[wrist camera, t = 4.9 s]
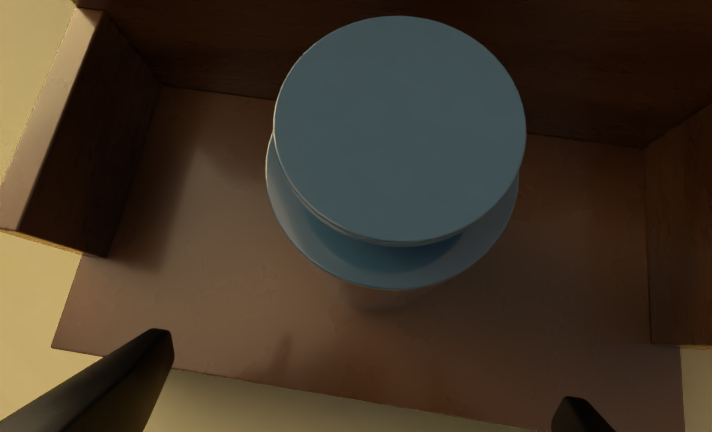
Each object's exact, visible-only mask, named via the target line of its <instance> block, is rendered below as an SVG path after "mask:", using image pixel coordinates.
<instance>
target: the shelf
mask: <svg viewBox="0 0 712 432" xmlns="http://www.w3.org/2000/svg"><path fill="white" fill-rule="evenodd" d="M71 1H72V2H73V3H74V4H75V5H76V7H77V8H75V11H74V13H73V15H72V18H71V20H70V22H69V25H68V27H67V30H66V32H65V34H64V37H63V39H62V41H61V44H60V46H59V49H58V51H57V53H56V56H55V58H54V60H53V63H52V65H51V68H50V70H49V72H48V75H47V77H46V79H45V82H44V84H43V87H42V89H41V91H40V94H39V96H38V98H37V101H36V103H35V106H34V108H33V110H32V113H31V115H30V117H29V120H28V122H27V125H26V127H25V129H24V132H23V134H22V136H21V139H20V141H19V144H18V146H17V148H16V151H15V153H14V156H13V158H12V160H11V163H10V165H9V167H8V170H7V172H6V175H5V177H4V179H3V182H2V184H1V186H0V232H3V233H7V234H10V235H14V236H17V237H21V238H24V239H27V240H31V241H34V242H38V243H41V244H45V245H48V246H52V247H55V248H59V249H62V250H66V251H69V252H73V253H76V254H80V255H82V257H81V260H80V263H79V266H78V269H77V272H76V275H75V278H74V280H73V283H72V286H71V289H70V292H69V295H68V298H67V301H66V304H65V307H64V310H63V312H62V315H61V318H60V321H59V324H58V327H57V330H56V333H55V336H54V339H53V341H52V344H51V348H53V349H59V350H65V351H71V352H77V353H83V354H89V355H95V356H101V357H105V356H106V355H108V354H110V353H111V352H113V351H115V350H116V349H118V348H119V347H121V346H123V345H124V344H126V343H128V342H129V341H131V340H132V339H134V338H136V337H137V336H139V335H140V334H142V333H144V332H145V331H147V330H149V329H151V328H159V329H165V330H169V331H170V333H171V335H172V341H173V347H174V353H175V358H174V363H173V365H172V368H171V369H177V370H183V371H189V372H195V373H201V374H207V375H213V376H219V377H224V378H230V379H236V380H242V381H248V382H254V383H260V384H266V385H272V386H278V387H283V388H289V389H295V390H301V391H307V392H313V393H319V394H325V395H331V396H337V397H342V398H348V399H354V400H360V401H366V402H372V403H378V404H384V405H390V406H396V407H402V408H407V409H413V410H419V411H425V412H431V413H437V414H443V415H449V416H455V417H461V418H466V419H472V420H478V421H484V422H490V423H496V424H502V425H508V426H514V427H520V428H525V429H531V430H537V431H543V432H552V430H551V422H552V418H553V416H554V414H555V412H556V410H557V408H558V406H559V405H560V403H561V401H562V399H563V398H564V397H565V396H572V397H579V398H583V399H585V400H587V401H588V402H589V403H590V404H591V405H592V406H593V407H594V408H595V409H596V410H597V412H598V413H599V414H600V415H601V416H602V417H603V418H604V419H605V420H606V421H607V422H608V423H609V424H610V425H611V427H612V428H613V429H614V430H615V431H616V432H685V421H684V405H683V389H682V373H681V357H680V348H682V349H706V350H712V0H71ZM397 15H399V16H414V17H420V18H426V19H430V20H434V21H437V22H441V23H444V24H446V25H449V26H451V27H454V28H456V29H458V30H460V31H462V32H464V33H465V34H467V35H469V36H471V37H472V38H474V39H475V40H477V41H478V42H479V43H481V44H482V45H483V46H485V47H486V48H487V49H488V50H489V51H490V52H491V53H492V54H493V55H494V56H495V57H496V58H497V59H498V60H499V61H500V62H501V64H502V65H503V66H504V67H505V69H506V70H507V72H508V73H509V75H510V76H511V78H512V79H513V82H514V84H515V86H516V88H517V90H518V92H519V95H520V98H521V101H522V104H523V107H524V113H525V118H526V145H525V153H524V156H523V160H522V164H521V167H520V169H519V185H518V194H517V199H516V202H515V206H514V210H513V213H512V215H511V217H510V220H509V222H508V224H507V226H506V228H505V230H504V231H503V233H502V234H501V236H500V238H499V239H498V241H497V242H496V243H495V244H494V245H493V247H492V248H491V249H490V250H489V251H488V253H486V254H485V255H484V256H483V257H482V258H481V259H480V260H479V261H478V262H476V263H475V264H474V265H472V266H471V267H469V268H468V269H466V270H465V271H463V272H462V273H460V274H459V275H457V276H456V277H454V278H452V279H451V280H449V281H448V282H446V283H444V284H443V285H441V286H440V287H438V288H436V289H435V290H433V291H432V292H430V293H428V294H427V295H425V296H424V297H422V298H420V299H419V300H417V301H416V302H414V303H412V304H410V305H408V306H406V307H404V308H401V309H398V310H395V311H390V312H380V313H375V312H366V311H362V310H358V309H355V308H352V307H350V306H348V305H346V304H344V303H342V302H341V301H339V300H338V299H337V298H335V297H334V296H333V295H332V294H331V293H330V292H329V291H328V290H327V289H326V288H325V287H324V285H323V284H322V283H321V282H320V280H319V279H318V278H317V276H316V275H315V274H314V272H313V271H312V270H311V268H310V267H309V266H308V264H307V263H306V262H305V260H304V259H303V258H302V256H301V255H300V254H299V253H298V251H297V250H296V249H295V247H294V246H293V245H292V243H291V242H290V241H289V239H288V238H287V237H286V235H285V234H284V232H283V230H282V229H281V227H280V225H279V224H278V222H277V220H276V217H275V215H274V213H273V210H272V208H271V205H270V201H269V197H268V194H267V188H266V179H265V161H266V154H267V148H268V144H269V141H270V137H271V134H272V131H273V116H274V110H275V104H276V101H277V97H278V94H279V91H280V88H281V86H282V84H283V82H284V80H285V78H286V76H287V74H288V73H289V71H290V70H291V68H292V67H293V65H294V64H295V63H296V61H297V60H298V59H299V58H300V57H301V56H302V54H303V53H304V52H305V51H307V50H308V49H309V48H310V47H311V46H312V45H313V44H314V43H316V42H317V41H318V40H320V39H321V38H323V37H324V36H326V35H327V34H329V33H331V32H333V31H335V30H337V29H338V28H341V27H343V26H346V25H348V24H351V23H353V22H357V21H360V20H364V19H368V18H374V17H381V16H397Z"/></svg>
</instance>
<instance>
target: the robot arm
mask: <svg viewBox="0 0 712 432" xmlns="http://www.w3.org/2000/svg"><path fill="white" fill-rule="evenodd" d="M174 358H175V353H174V347H173V341H172V335H171V333H170V331H169V330H165V329H159V328H151V329H149V330H147V331H145V332H144V333H142V334H140V335H139V336H137V337H136V338H134V339H132V340H131V341H129V342H128V343H126V344H124V345H123V346H121V347H119V348H118V349H116V350H115V351H113V352H111V353H110V354H108V355H106V356H105V357H103V358H102V359H100V360H98V361H97V362H95V363H93V364H92V365H90V366H89V367H87V368H85V369H84V370H82V371H81V372H79V373H77V374H76V375H74V376H72V377H71V378H69V379H68V380H66V381H64V382H63V383H61V384H59V385H58V386H56V387H55V388H53V389H51V390H50V391H48V392H47V393H45V394H43V395H42V396H40V397H38V398H37V399H35V400H34V401H32V402H30V403H29V404H27V405H25V406H24V407H22V408H21V409H19V410H17V411H16V412H14V413H12V414H11V415H9V416H8V417H6V418H4V419H3V420H1V421H0V432H143V430H144V428H145V426H146V424H147V422H148V420H149V417H150V415H151V413H152V411H153V408H154V406H155V404H156V402H157V399H158V397H159V395H160V393H161V390H162V388H163V386H164V384H165V381H166V379H167V377H168V375H169V372H170V370H171V368H172V365H173V363H174ZM551 430H552V432H616V431H615V430H614V429H613V428H612V427H611V425H610V424H609V423H608V422H607V421H606V420H605V419H604V418H603V417H602V416H601V415H600V414H599V413H598V412H597V410H596V409H595V408H594V407H593V406H592V405H591V404H590V403H589V402H588V401H587V400H585V399H583V398H579V397H572V396H565V397H564V398H563V399H562V401H561V403H560V405H559V406H558V408H557V410H556V412H555V414H554V416H553V418H552V422H551Z"/></svg>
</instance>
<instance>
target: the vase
mask: <svg viewBox="0 0 712 432" xmlns="http://www.w3.org/2000/svg"><path fill="white" fill-rule="evenodd" d="M525 145H526V118H525V113H524V107H523V104H522V101H521V98H520V95H519V92H518V90H517V88H516V86H515V84H514V82H513V79H512V78H511V76H510V75H509V73H508V72H507V70H506V69H505V67H504V66H503V65H502V64H501V62H500V61H499V60H498V59H497V58H496V57H495V56H494V55H493V54H492V53H491V52H490V51H489V50H488V49H487V48H486V47H485V46H483V45H482V44H481V43H479V42H478V41H477V40H475V39H474V38H472V37H471V36H469V35H467V34H465V33H464V32H462V31H460V30H458V29H456V28H454V27H451V26H449V25H446V24H444V23H441V22H437V21H434V20H430V19H426V18H420V17H414V16H399V15H397V16H381V17H374V18H368V19H364V20H360V21H357V22H353V23H351V24H348V25H346V26H343V27H341V28H338V29H337V30H335V31H333V32H331V33H329V34H327V35H326V36H324V37H323V38H321V39H320V40H318V41H317V42H316V43H314V44H313V45H312V46H311V47H310V48H309V49H308V50H307V51H305V52H304V53H303V54H302V56H301V57H300V58H299V59H298V60H297V61H296V63H295V64H294V65H293V67H292V68H291V70H290V71H289V73H288V74H287V76H286V78H285V80H284V82H283V84H282V86H281V88H280V91H279V94H278V97H277V101H276V104H275V110H274V116H273V131H272V134H271V137H270V141H269V144H268V148H267V154H266V161H265V179H266V188H267V194H268V197H269V201H270V205H271V208H272V210H273V213H274V215H275V217H276V220H277V222H278V224H279V225H280V227H281V229H282V230H283V232H284V234H285V235H286V237H287V238H288V239H289V241H290V242H291V243H292V245H293V246H294V247H295V249H296V250H297V251H298V253H299V254H300V255H301V256H302V258H303V259H304V260H305V262H306V263H307V264H308V266H309V267H310V268H311V270H312V271H313V272H314V274H315V275H316V276H317V278H318V279H319V280H320V282H321V283H322V284H323V285H324V287H325V288H326V289H327V290H328V291H329V292H330V293H331V294H332V295H333V296H334V297H335V298H337V299H338V300H339V301H341V302H342V303H344V304H346V305H348V306H350V307H352V308H355V309H358V310H362V311H366V312H375V313H380V312H390V311H395V310H398V309H401V308H404V307H406V306H408V305H410V304H412V303H414V302H416V301H417V300H419V299H420V298H422V297H424V296H425V295H427V294H428V293H430V292H432V291H433V290H435V289H436V288H438V287H440V286H441V285H443V284H444V283H446V282H448V281H449V280H451V279H452V278H454V277H456V276H457V275H459V274H460V273H462V272H463V271H465V270H466V269H468V268H469V267H471V266H472V265H474V264H475V263H476V262H478V261H479V260H480V259H481V258H482V257H483V256H484V255H485V254H486V253H488V251H489V250H490V249H491V248H492V247H493V245H494V244H495V243H496V242H497V241H498V239H499V238H500V236H501V234H502V233H503V231H504V230H505V228H506V226H507V224H508V222H509V220H510V217H511V215H512V213H513V210H514V206H515V202H516V199H517V194H518V185H519V169H520V167H521V164H522V160H523V156H524V153H525Z"/></svg>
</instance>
